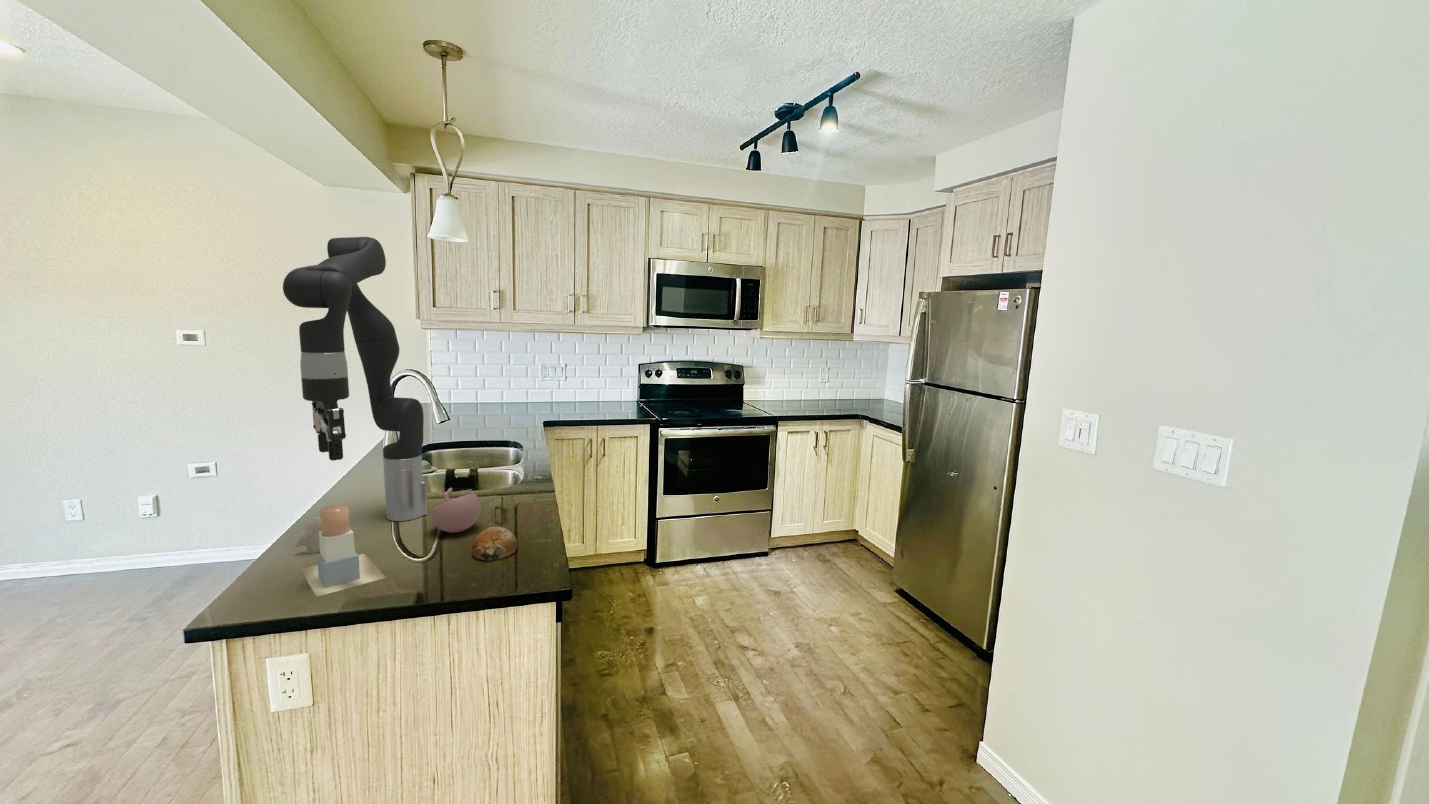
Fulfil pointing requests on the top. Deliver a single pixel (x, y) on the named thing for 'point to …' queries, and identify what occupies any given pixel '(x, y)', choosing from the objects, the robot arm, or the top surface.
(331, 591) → the board
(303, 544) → the arrowhead
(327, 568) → the tower lower
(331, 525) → the peach cylinder
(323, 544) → the tower upper
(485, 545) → the bread roll
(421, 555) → the top surface
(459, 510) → the mortar and pestle
